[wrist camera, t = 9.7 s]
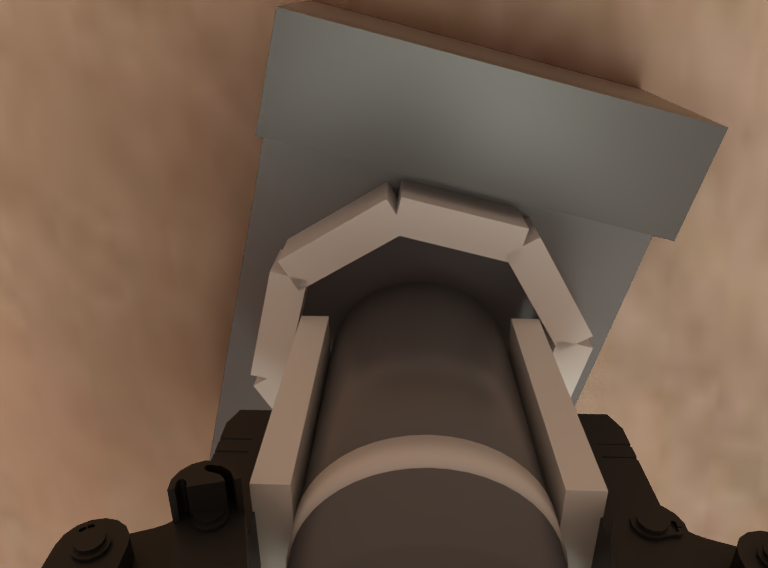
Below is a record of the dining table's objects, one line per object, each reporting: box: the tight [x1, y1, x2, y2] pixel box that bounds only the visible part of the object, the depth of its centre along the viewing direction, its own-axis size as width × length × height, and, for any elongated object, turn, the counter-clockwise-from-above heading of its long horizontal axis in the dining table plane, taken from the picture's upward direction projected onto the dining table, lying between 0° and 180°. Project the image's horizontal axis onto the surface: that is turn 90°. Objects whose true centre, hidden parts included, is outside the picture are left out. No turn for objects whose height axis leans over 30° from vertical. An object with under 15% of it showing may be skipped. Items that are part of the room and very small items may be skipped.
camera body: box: [209, 1, 728, 461], centre depth 21 cm, size 16×11×7 cm
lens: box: [286, 282, 568, 568], centre depth 14 cm, size 5×5×9 cm
